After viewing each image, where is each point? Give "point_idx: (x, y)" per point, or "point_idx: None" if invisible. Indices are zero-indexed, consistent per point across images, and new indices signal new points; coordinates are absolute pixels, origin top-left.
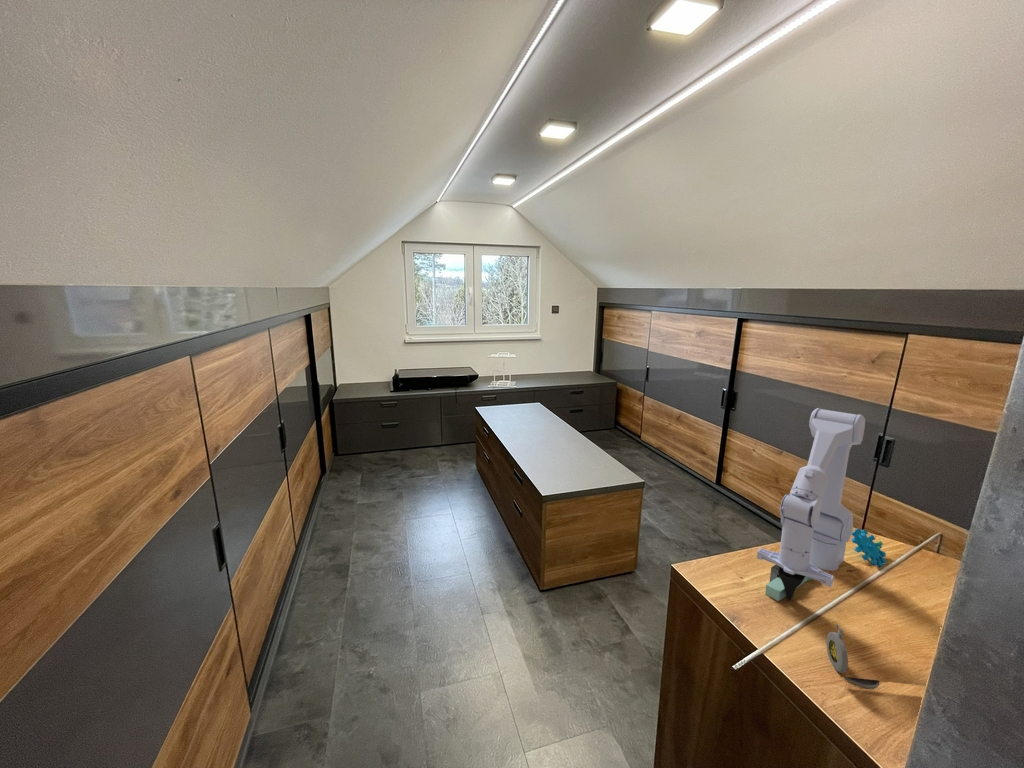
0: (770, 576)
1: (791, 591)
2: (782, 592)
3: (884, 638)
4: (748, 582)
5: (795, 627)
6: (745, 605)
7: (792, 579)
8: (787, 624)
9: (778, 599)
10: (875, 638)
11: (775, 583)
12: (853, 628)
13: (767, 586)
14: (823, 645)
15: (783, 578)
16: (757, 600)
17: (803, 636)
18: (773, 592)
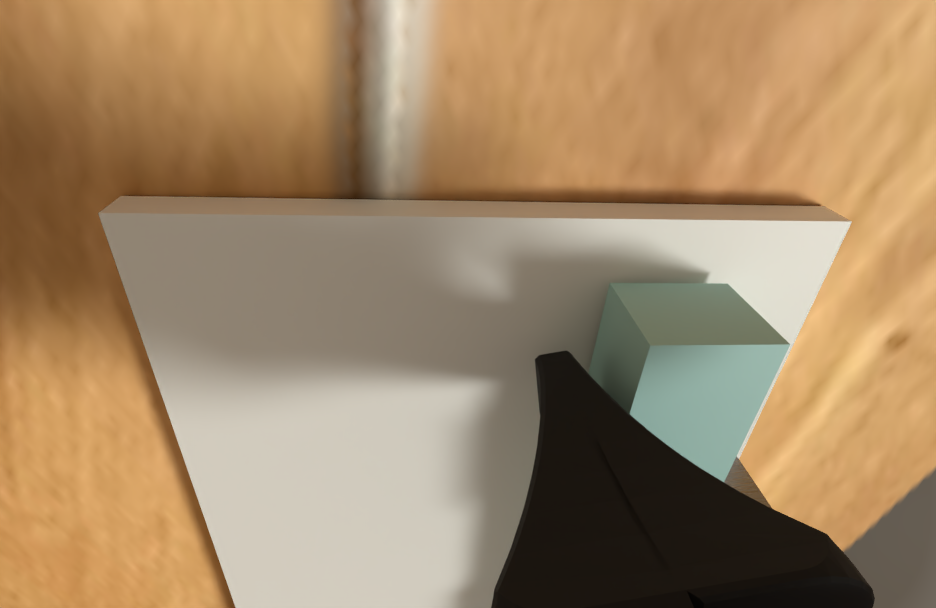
0: (748, 478)
1: (558, 425)
2: (622, 378)
3: (34, 506)
4: (841, 334)
5: (383, 116)
6: (840, 2)
7: (623, 599)
8: (447, 91)
9: (618, 293)
10: (49, 471)
11: (712, 426)
12: (168, 453)
13: (768, 337)
14: (110, 89)
15: (730, 522)
16: (748, 187)
17: (274, 48)
18: (688, 318)
